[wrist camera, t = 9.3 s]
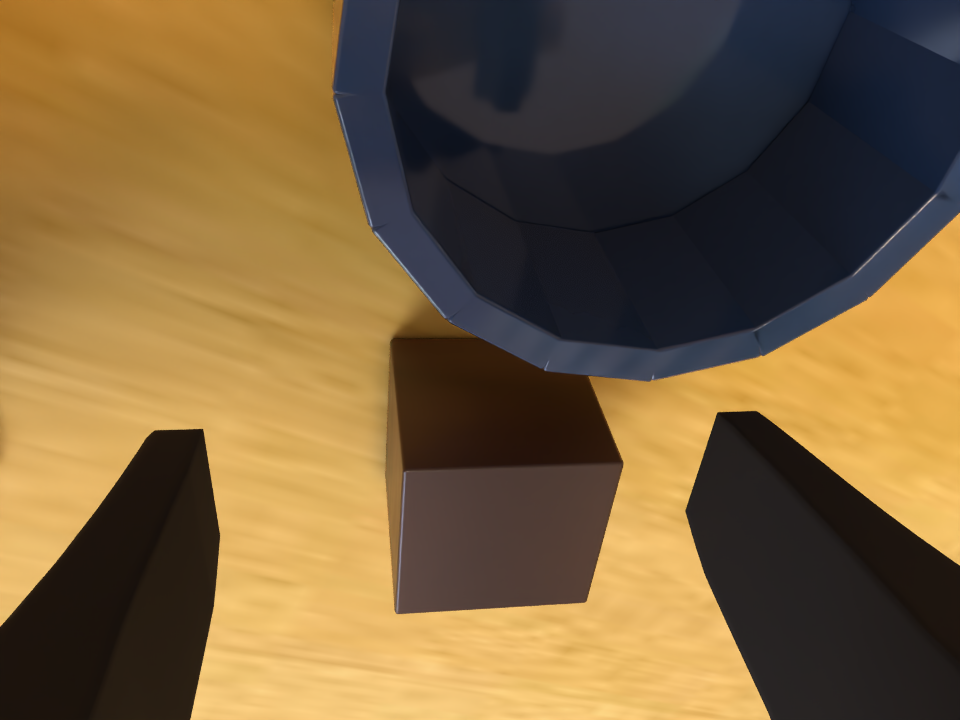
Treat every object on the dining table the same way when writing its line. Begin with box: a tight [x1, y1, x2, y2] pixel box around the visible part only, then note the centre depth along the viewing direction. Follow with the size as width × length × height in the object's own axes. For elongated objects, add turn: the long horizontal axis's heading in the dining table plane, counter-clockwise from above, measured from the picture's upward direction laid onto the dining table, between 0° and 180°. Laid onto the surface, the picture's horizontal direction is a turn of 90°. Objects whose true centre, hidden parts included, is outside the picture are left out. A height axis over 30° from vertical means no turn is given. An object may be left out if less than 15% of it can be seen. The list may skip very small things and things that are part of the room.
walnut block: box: [385, 339, 623, 614], centre depth 21 cm, size 5×5×5 cm
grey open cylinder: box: [332, 0, 960, 382], centre depth 15 cm, size 12×12×5 cm
